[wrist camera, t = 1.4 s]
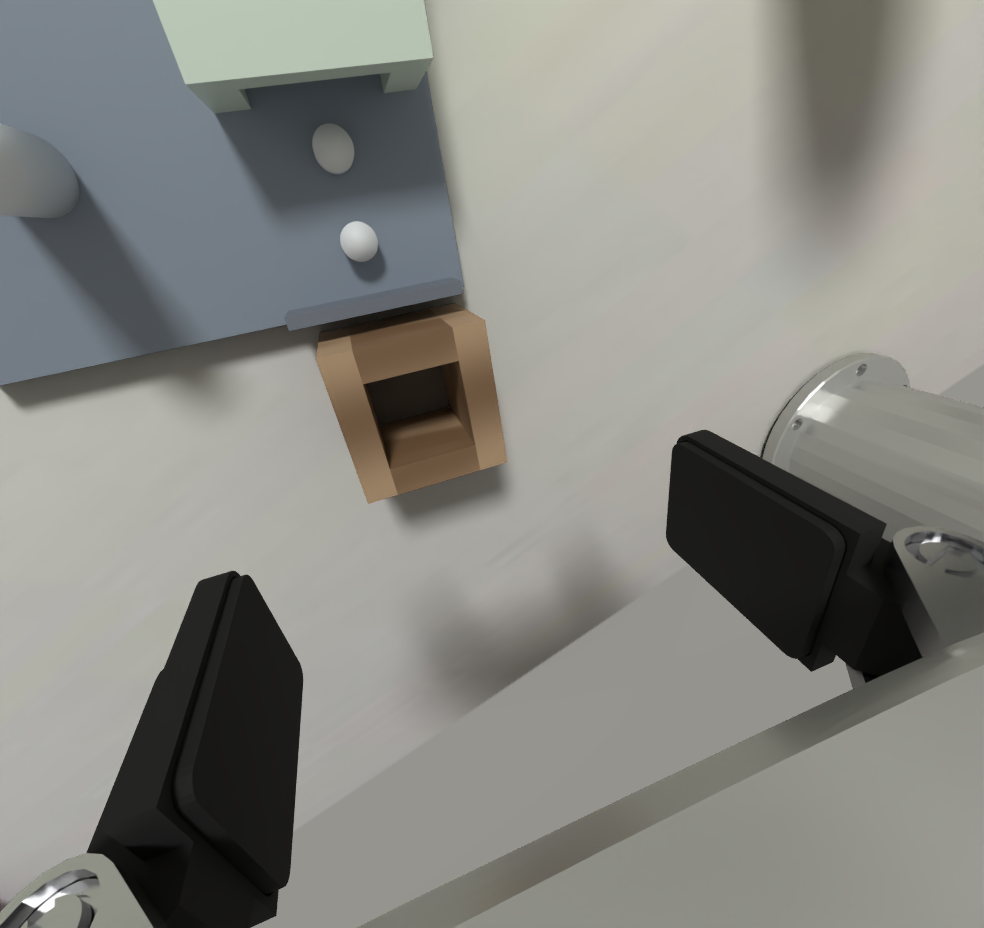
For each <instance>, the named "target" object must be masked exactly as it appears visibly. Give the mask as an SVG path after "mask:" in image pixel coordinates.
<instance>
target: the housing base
mask: <svg viewBox="0 0 984 928" xmlns="http://www.w3.org/2000/svg"><path fill="white" fill-rule="evenodd" d="M245 91H246V94H247V97H248V100H249V103H250V106H251V109H248V110H240V111H232V112H224V113H215V114H214V113H213V112H212V111H211V110H210V109H209V108H208V107H207V106H206V105H205V104H204V103H203V102H202V101H201V100H200V99H199V97H198V96H197V95H196V94H195V93H194V92H193V91H192V90H191V89H190V88H189V87H188V86H187V85H186V84H185V82H184V79H183V77H182V74H181V72H180V69H179V67H178V64H177V61H176V59H175V56H174V54H173V51H172V49H171V46H170V44H169V41H168V38H167V36H166V33H165V31H164V28H163V26H162V23H161V20H160V18H159V15H158V13H157V10H156V8H155V5H154V2H153V0H0V385H5V384H9V383H14V382H19V381H23V380H28V379H33V378H37V377H42V376H47V375H52V374H56V373H61V372H66V371H70V370H75V369H80V368H85V367H89V366H94V365H99V364H103V363H108V362H113V361H117V360H122V359H127V358H132V357H136V356H141V355H146V354H150V353H155V352H160V351H164V350H169V349H174V348H179V347H183V346H188V345H193V344H197V343H202V342H207V341H212V340H216V339H221V338H226V337H230V336H235V335H240V334H244V333H249V332H254V331H259V330H263V329H268V328H273V327H277V326H282V325H287V327H288V330H289V331H292V330H297V329H301V328H306V327H311V326H315V325H320V324H325V323H329V322H334V321H338V320H343V319H348V318H352V317H357V316H362V315H366V314H371V313H376V312H380V311H385V310H389V309H394V308H399V307H403V306H408V305H413V304H417V303H422V302H427V301H431V300H436V299H440V298H445V297H450V296H454V295H459V294H463V290H462V287H464V284H463V278H462V273H461V267H460V261H459V255H458V250H457V244H456V238H455V233H454V227H453V221H452V215H451V210H450V204H449V198H448V193H447V187H446V181H445V175H444V170H443V164H442V158H441V153H440V147H439V141H438V135H437V130H436V124H435V118H434V113H433V107H432V101H431V95H430V90H429V84H428V78H427V72H425V74H424V76H423V78H422V79H421V81H420V83H419V85H418V87H417V88H416V89H415V90H406V91H398V92H390V93H384V91H383V87H382V82H381V78H380V74H373V75H364V76H355V77H346V78H337V79H328V80H319V81H310V82H301V83H292V84H283V85H274V86H265V87H256V88H247V89H245Z"/></svg>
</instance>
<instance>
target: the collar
mask: <svg viewBox="0 0 984 928" xmlns="http://www.w3.org/2000/svg"><path fill="white" fill-rule="evenodd" d="M316 361H317V364H318V367H319V370H320V372H321V375H322V378H323V381H324V383H325V386H326V389H327V392H328V394H329V397H330V400H331V403H332V405H333V408H334V411H335V414H336V416H337V419H338V422H339V425H340V427H341V430H342V433H343V436H344V438H345V441H346V444H347V447H348V449H349V452H350V455H351V458H352V460H353V463H354V466H355V469H356V471H357V474H358V477H359V480H360V483H361V485H362V488H363V491H364V494H365V496H366V499H367V502H368V504H369V503H372V502H376V501H379V500H382V499H386V498H389V497H392V496H396V495H399V494H402V493H406V492H409V491H412V490H416V489H419V488H423V487H426V486H429V485H433V484H436V483H439V482H443V481H446V480H449V479H453V478H456V477H459V476H463V475H466V474H469V473H473V472H476V471H480V470H483V469H486V468H490V467H493V466H496V465H500V464H503V463H506V462H507V457H506V451H505V445H504V438H503V432H502V426H501V419H500V413H499V407H498V400H497V394H496V388H495V381H494V375H493V369H492V363H491V356H490V350H489V344H488V337H487V331H486V325H485V320H484V319H482V318H480V317H478V316H477V315H475V314H473V313H471V312H470V311H468V310H466V309H464V308H463V307H461V306H459V305H457V304H456V303H453V304H449V305H444V306H440V307H435V308H430V309H426V310H421V311H417V312H412V313H408V314H403V315H398V316H394V317H389V318H385V319H380V320H376V321H371V322H367V323H362V324H357V325H353V326H348V327H344V328H339V329H335V330H330V331H325V332H321V333H320V335H319V341H318V348H317V354H316ZM440 365H441V367H442V372H443V377H444V381H445V386H446V390H447V395H448V399H449V404H450V407H449V408H445V409H442V410H438V411H434V412H430V413H427V414H423V415H419V416H415V417H412V418H408V419H404V420H400V421H397V422H393V423H389V424H385V425H381V426H380V425H379V422H378V419H377V416H376V412H375V409H374V406H373V403H372V400H371V396H370V393H369V390H368V387H367V383H371V382H375V381H379V380H383V379H387V378H391V377H395V376H399V375H403V374H407V373H411V372H415V371H419V370H424V369H428V368H432V367H436V366H440Z"/></svg>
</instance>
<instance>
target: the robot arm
mask: <svg viewBox="0 0 984 928" xmlns="http://www.w3.org/2000/svg"><path fill="white" fill-rule="evenodd" d="M666 538H667V541H668V544H669V545H670V547H671V548H672V549H673V550H674V551H675V552H676V553H677V554H678V555H679V556H680V557H681V558H682V559H683V560H684V561H686V562H687V563H688V564H689V565H690V566H691V567H692V568H693V569H694V570H695V571H696V572H697V573H699V574H700V575H701V576H702V577H703V578H704V579H705V580H706V581H707V582H708V583H709V584H710V585H711V586H712V587H714V588H715V589H716V590H717V591H718V592H719V593H720V594H721V595H722V596H723V597H724V598H726V599H727V600H728V601H729V602H730V603H731V604H732V605H733V606H734V607H735V608H736V609H737V610H738V611H740V613H742V614H743V615H744V616H745V617H746V618H747V619H748V620H749V621H750V622H751V623H752V624H753V625H754V626H756V627H757V628H758V629H759V630H760V631H761V632H762V633H763V634H764V635H765V636H766V637H768V638H769V639H770V640H771V641H772V642H773V643H774V644H775V645H776V646H777V647H778V648H779V649H780V650H781V651H782V652H784V653H785V654H786V655H787V656H789V657H791V658H795V659H798V660H799V661H800V662H801V663H802V664H803V665H805V666H806V667H807V668H808V669H809V670H810V671H814V670H816V669H818V668H820V667H823V666H825V665H827V664H829V663H832V662H833V661H834V658H835V656H836V655H837V656H838V657H839V658H841V659H842V660H843V661H844V662H845V663H846V667H847V670H848V673H849V677H850V680H851V684H852V687H853V689H852V690H850V691H848V692H846V693H844V694H842V695H840V696H838V697H836V698H833V699H831V700H829V701H827V702H825V703H823V704H821V705H818V706H816V707H814V708H812V709H810V710H808V711H806V712H803V713H801V714H799V715H797V716H795V717H793V718H791V719H789V720H786V721H785V722H782V723H780V724H778V725H776V726H774V727H772V728H769V729H767V730H765V731H763V732H761V733H759V734H757V735H755V736H752V737H750V738H748V739H746V740H744V741H742V742H740V743H738V744H736V745H734V746H731V747H729V748H727V749H725V750H723V751H721V752H719V753H717V754H715V755H713V756H711V757H708V758H706V759H704V760H702V761H700V762H698V763H696V764H694V765H692V766H689V767H687V768H685V769H683V770H681V771H679V772H677V773H675V774H673V775H671V776H669V777H666V778H664V779H662V780H660V781H658V782H656V783H654V784H652V785H650V786H648V787H645V788H643V789H641V790H639V791H637V792H635V793H633V794H631V795H629V796H627V797H625V798H622V799H620V800H618V801H616V802H614V803H612V804H610V805H608V806H606V807H604V808H601V809H600V810H598V811H595V812H593V813H591V814H589V815H587V816H585V817H583V818H581V819H578V820H577V821H574V822H572V823H570V824H568V825H566V826H564V827H562V828H560V829H558V830H556V831H554V832H552V833H550V834H548V835H545V836H543V837H541V838H539V839H537V840H535V841H533V842H531V843H529V844H527V845H525V846H523V847H521V848H518V849H516V850H514V851H512V852H510V853H508V854H506V855H504V856H502V857H500V858H498V859H496V860H494V861H492V862H490V863H488V864H485V865H484V866H481V867H479V868H477V869H475V870H473V871H471V872H469V873H467V874H465V875H463V876H461V877H459V878H457V879H454V880H452V881H450V882H448V883H446V884H444V885H442V886H440V887H438V888H436V889H434V890H432V891H430V892H428V893H426V894H423V895H421V896H419V897H417V898H415V899H413V900H411V901H409V902H407V903H405V904H403V905H401V906H399V907H397V908H395V909H393V910H391V911H389V912H387V913H385V914H383V915H381V916H379V917H377V918H375V919H373V920H371V921H369V922H367V923H365V924H364V925H361V926H360V927H357V928H984V407H980V406H977V405H973V404H969V403H965V402H961V401H958V400H954V399H950V398H946V397H943V396H939V395H935V394H931V393H928V392H924V391H920V390H916V389H913V388H910V383H909V379H908V376H907V373H906V370H905V369H904V368H903V367H902V365H901V364H900V363H899V362H897V361H896V360H894V359H892V358H890V357H885V356H881V355H877V354H858V355H853V356H849V357H846V358H844V359H842V360H840V361H838V362H835V363H833V364H832V365H830V366H829V367H827V368H826V369H824V370H823V371H821V372H820V373H818V374H817V375H816V376H815V377H813V378H812V379H811V380H810V381H809V382H808V383H806V384H805V385H804V386H803V387H802V388H801V389H800V391H799V392H798V393H797V394H796V395H795V396H794V397H793V398H792V399H791V401H790V402H789V403H788V405H787V406H786V408H785V409H784V410H783V412H782V413H781V415H780V416H779V418H778V420H777V422H776V423H775V425H774V427H773V429H772V431H771V433H770V436H769V438H768V441H767V443H766V446H765V450H764V454H763V458H760V457H758V456H756V455H754V454H752V453H750V452H749V451H747V450H745V449H743V448H741V447H739V446H737V445H735V444H733V443H731V442H729V441H727V440H726V439H724V438H722V437H720V436H718V435H716V434H714V433H712V432H710V431H708V430H701V431H697V432H694V433H691V434H687V435H684V436H681V437H680V438H679V439H678V441H677V444H676V445H674V447H673V450H672V460H671V473H670V487H669V500H668V514H667V527H666ZM302 691H303V673H302V668H301V665H300V663H299V661H298V659H297V657H296V656H295V654H294V652H293V650H292V648H291V647H290V645H289V643H288V641H287V640H286V638H285V636H284V634H283V633H282V631H281V629H280V627H279V626H278V624H277V622H276V620H275V618H274V617H273V615H272V613H271V611H270V610H269V608H268V606H267V604H266V603H265V601H264V599H263V597H262V595H261V594H260V592H259V590H258V588H257V587H256V585H255V583H254V581H253V580H252V578H251V577H250V576H249V575H243V576H240V575H239V574H238V573H237V572H236V571H230V572H227V573H223V574H220V575H217V576H213V577H210V578H207V579H203V580H201V581H199V582H198V584H197V586H196V588H195V591H194V593H193V596H192V598H191V601H190V603H189V606H188V609H187V611H186V614H185V616H184V619H183V621H182V624H181V626H180V629H179V632H178V634H177V637H176V639H175V642H174V644H173V647H172V649H171V652H170V655H169V657H168V660H167V662H166V665H165V667H164V669H163V670H162V671H161V672H160V673H159V675H158V677H157V679H156V681H155V683H154V685H153V688H152V690H151V693H150V695H149V698H148V700H147V703H146V705H145V708H144V710H143V713H142V716H141V718H140V721H139V723H138V726H137V728H136V731H135V733H134V736H133V738H132V741H131V743H130V746H129V748H128V751H127V753H126V756H125V758H124V761H123V763H122V766H121V768H120V771H119V773H118V776H117V778H116V781H115V783H114V786H113V788H112V791H111V793H110V796H109V798H108V801H107V803H106V806H105V808H104V811H103V813H102V816H101V818H100V821H99V823H98V826H97V828H96V831H95V833H94V836H93V838H92V841H91V843H90V846H89V848H88V851H87V853H85V854H82V855H79V856H76V857H73V858H70V859H66V860H65V861H63V862H61V863H59V864H58V865H56V866H54V867H53V868H51V869H49V870H47V871H46V872H44V873H42V874H41V875H40V876H39V877H38V878H36V879H35V880H34V881H33V882H31V883H30V884H29V885H28V886H26V887H25V888H24V889H23V890H21V891H20V892H19V893H18V894H17V895H16V896H15V897H14V898H13V899H12V900H11V901H10V902H9V903H8V904H7V905H6V906H5V907H4V908H3V909H2V910H1V911H0V928H251V927H253V926H255V925H257V924H259V923H262V922H264V921H266V920H268V919H270V918H273V917H274V916H276V912H277V901H278V889H281V888H283V887H284V886H286V884H287V883H288V880H289V876H290V867H291V866H290V865H291V851H292V838H293V823H294V808H295V794H296V779H297V765H298V750H299V735H300V721H301V706H302Z"/></svg>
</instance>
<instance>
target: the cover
mask: <svg viewBox="0 0 984 928" xmlns="http://www.w3.org/2000/svg"><path fill="white" fill-rule="evenodd" d="M153 2H154V5H155V8H156V10H157V13H158V15H159V18H160V20H161V23H162V26H163V28H164V31H165V33H166V36H167V38H168V41H169V44H170V46H171V49H172V51H173V54H174V56H175V59H176V61H177V64H178V67H179V69H180V72H181V74H182V77H183V79H184V82H185V84H186V85H187V86H188V87H189V88H190V89H191V90H192V91H193V92H194V93H195V94H196V95H197V96H198V97H199V99H200V100H201V101H202V102H203V103H204V104H205V105H206V106H207V107H208V108H209V109H210V110H211V111H212V112H213V113H214V114H215V113H224V112H232V111H240V110H248V109H251V106H250V103H249V100H248V97H247V94H246V91H245V89H247V88H256V87H265V86H274V85H283V84H292V83H301V82H310V81H319V80H328V79H337V78H346V77H355V76H364V75H373V74H380V78H381V82H382V87H383V91H384V93H390V92H398V91H406V90H415V89H416V88H417V87H418V85H419V83H420V81H421V79H422V78H423V76H424V74H425V72H426V70H427V69H428V67H429V65H430V63H431V61H432V59H433V52H432V46H431V40H430V34H429V28H428V22H427V16H426V10H425V4H424V0H153Z"/></svg>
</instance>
